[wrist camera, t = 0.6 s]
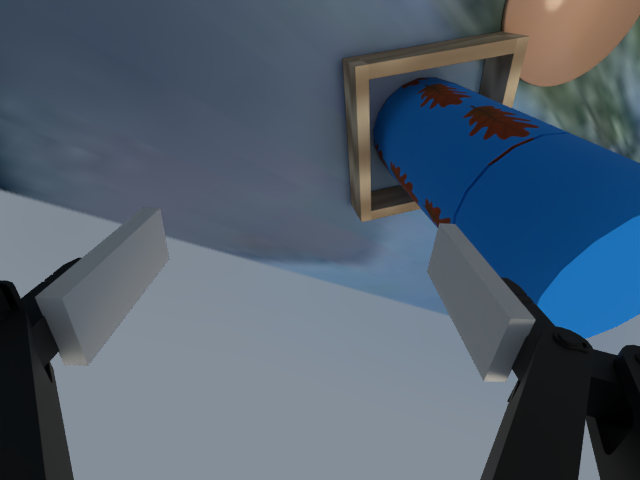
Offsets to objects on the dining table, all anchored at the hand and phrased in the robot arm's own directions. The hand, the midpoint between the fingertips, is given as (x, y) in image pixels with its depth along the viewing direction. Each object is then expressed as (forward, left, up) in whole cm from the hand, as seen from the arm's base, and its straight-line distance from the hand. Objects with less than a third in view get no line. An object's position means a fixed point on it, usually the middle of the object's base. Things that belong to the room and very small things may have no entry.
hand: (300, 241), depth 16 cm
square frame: (+5, +16, -21) cm, 27 cm away
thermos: (+5, +16, -22) cm, 28 cm away
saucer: (-5, +32, -21) cm, 39 cm away
